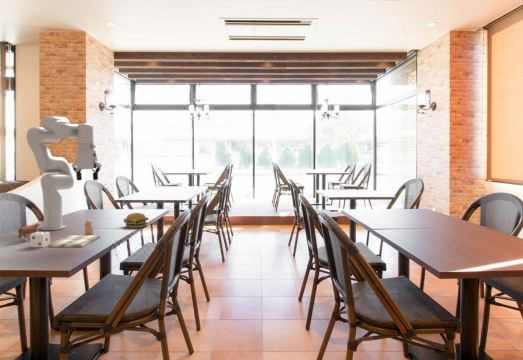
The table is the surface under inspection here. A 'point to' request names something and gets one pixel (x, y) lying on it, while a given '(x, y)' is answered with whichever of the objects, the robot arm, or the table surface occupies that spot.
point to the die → (39, 239)
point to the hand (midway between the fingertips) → (87, 180)
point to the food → (135, 220)
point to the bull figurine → (28, 230)
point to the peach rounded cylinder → (88, 228)
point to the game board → (74, 241)
